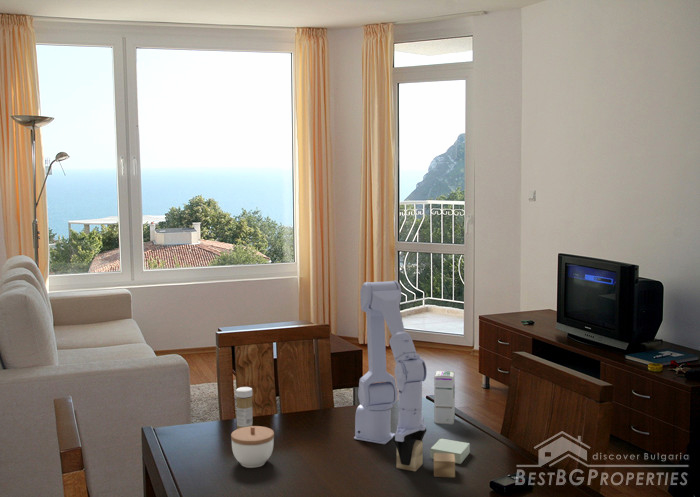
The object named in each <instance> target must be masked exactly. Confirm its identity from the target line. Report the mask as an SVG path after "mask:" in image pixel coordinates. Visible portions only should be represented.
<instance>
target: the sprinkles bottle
mask: <svg viewBox="0 0 700 497" xmlns="http://www.w3.org/2000/svg"><path fill="white" fill-rule="evenodd" d="M235 397H236V430H237V429H239V428H243V427H249V426H253V421H254V420H253V415H254V414H253V388H252V387H250V386H240V387H238V388H236V389H235Z"/></svg>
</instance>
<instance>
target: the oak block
mask: <svg viewBox="0 0 700 497" xmlns="http://www.w3.org/2000/svg"><path fill="white" fill-rule="evenodd" d="M433 477H435V478H437V477H439V478H456V463H455V457H454V454H447V453H434V459H433Z"/></svg>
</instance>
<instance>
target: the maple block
mask: <svg viewBox="0 0 700 497" xmlns="http://www.w3.org/2000/svg"><path fill="white" fill-rule="evenodd" d="M423 446H424V444H423V440H422V441H420V440H416V442H415V444H414V446H413V450H412V456H411V462H410V465H403V464H401V461H400V457H399V453H398V449H397V448H396V469H401V470H406V471H412V472H417V470H418V469H419V468H421V466H422V465H423V463H424V462H423V456H424V455H423V453H424V452H423V450H424V448H423Z"/></svg>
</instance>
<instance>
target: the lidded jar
mask: <svg viewBox="0 0 700 497" xmlns="http://www.w3.org/2000/svg"><path fill="white" fill-rule="evenodd" d="M274 438H275V432H274V430H273V429H272V428H269V427H267V426H260V425H252V426H249V427H243V428H239V429H237V428H236V429H235V430H234V431H232V432H231V433H230V439H231V450H232V453H233V457H234V458H235V459H236V461H237V462H239V464H240V465H241V467H244V468H247V469H253V468H260V467H262V466H265V464H266V462H267V461H268V460H269V458H271V456H272V453H273V450H274V443H275V442H274V441H275V440H274Z"/></svg>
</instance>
